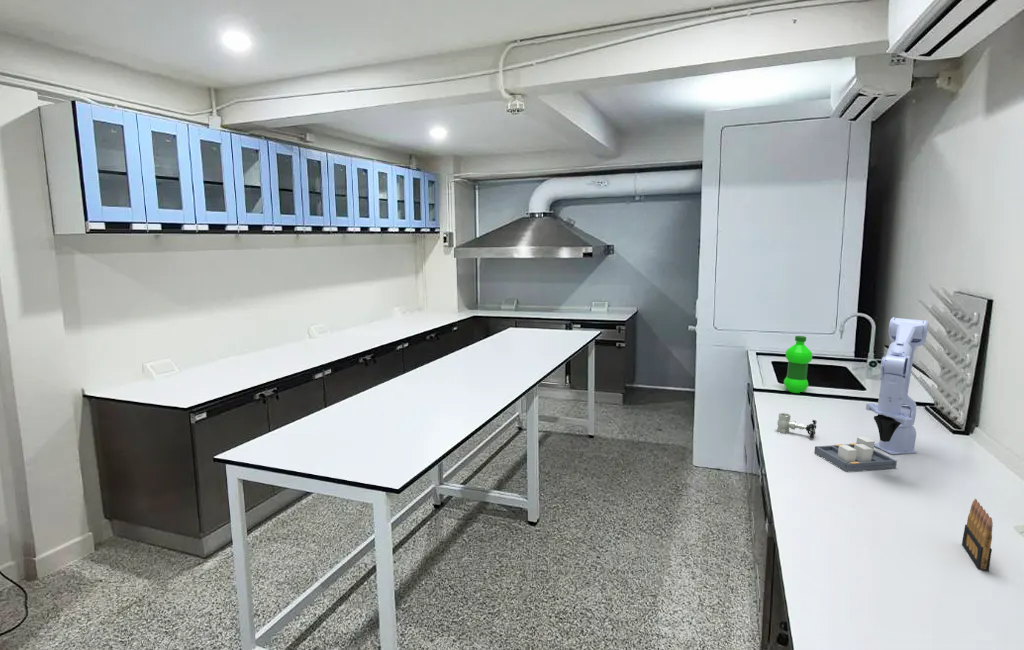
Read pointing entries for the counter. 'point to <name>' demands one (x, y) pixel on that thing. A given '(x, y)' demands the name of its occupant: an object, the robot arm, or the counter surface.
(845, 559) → the counter surface
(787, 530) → the counter surface
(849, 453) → the off-white plastic block
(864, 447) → the off-white block
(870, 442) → the pale grey block
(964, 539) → the ammunition clip
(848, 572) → the counter surface
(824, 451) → the grey divided tray
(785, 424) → the valve
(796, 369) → the plastic bottle
